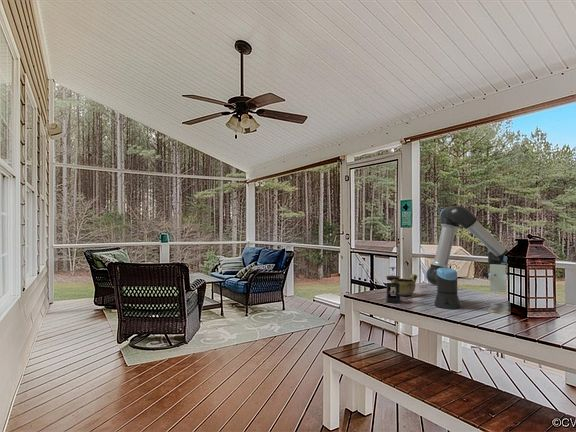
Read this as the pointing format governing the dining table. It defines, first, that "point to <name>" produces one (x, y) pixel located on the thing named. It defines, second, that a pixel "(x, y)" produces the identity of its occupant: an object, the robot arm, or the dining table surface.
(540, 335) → the dining table surface
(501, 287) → the flat rectangular panel
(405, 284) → the ceramic bowl
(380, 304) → the dining table surface
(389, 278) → the french press
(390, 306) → the dining table surface
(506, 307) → the cradle
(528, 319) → the dining table surface
